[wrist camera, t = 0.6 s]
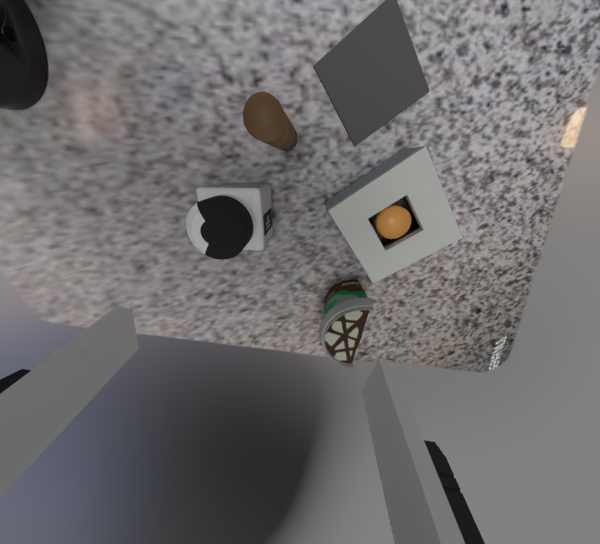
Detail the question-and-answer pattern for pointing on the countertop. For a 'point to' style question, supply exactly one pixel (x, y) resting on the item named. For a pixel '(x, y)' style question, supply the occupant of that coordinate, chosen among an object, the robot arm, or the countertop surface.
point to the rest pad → (373, 72)
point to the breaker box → (383, 192)
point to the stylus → (269, 121)
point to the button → (392, 221)
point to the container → (230, 218)
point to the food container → (344, 321)
